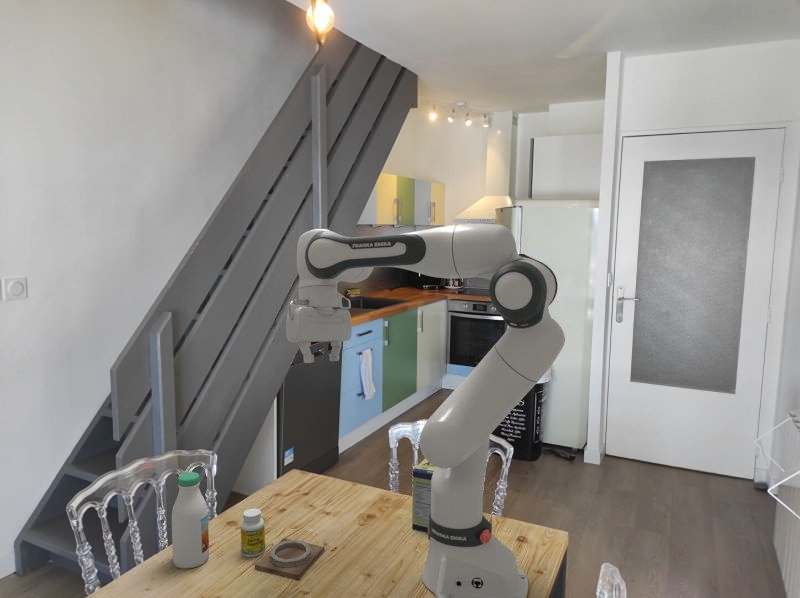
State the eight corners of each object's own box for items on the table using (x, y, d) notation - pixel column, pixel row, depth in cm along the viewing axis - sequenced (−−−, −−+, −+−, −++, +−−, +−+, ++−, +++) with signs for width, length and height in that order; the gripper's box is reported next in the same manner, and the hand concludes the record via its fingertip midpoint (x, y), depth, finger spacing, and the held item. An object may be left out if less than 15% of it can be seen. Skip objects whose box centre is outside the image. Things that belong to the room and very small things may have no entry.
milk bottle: (194, 572, 124) (191, 485, 122) (165, 566, 127) (162, 479, 125) (216, 554, 132) (214, 471, 129) (188, 548, 134) (186, 466, 132)
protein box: (468, 510, 154) (469, 455, 152) (450, 538, 140) (452, 477, 138) (431, 503, 158) (432, 449, 156) (411, 529, 144) (411, 470, 142)
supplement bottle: (260, 542, 137) (259, 504, 136) (268, 553, 132) (267, 513, 131) (238, 549, 134) (237, 510, 133) (245, 560, 129) (244, 520, 128)
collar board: (324, 550, 133) (324, 541, 133) (298, 579, 122) (298, 569, 122) (283, 542, 137) (283, 533, 137) (254, 569, 126) (254, 559, 126)
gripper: (300, 296, 119) (304, 363, 118) (354, 301, 137) (358, 359, 135) (277, 300, 122) (280, 364, 121) (333, 304, 140) (336, 360, 138)
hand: (322, 361), depth 128 cm, fingers open, 8 cm apart
